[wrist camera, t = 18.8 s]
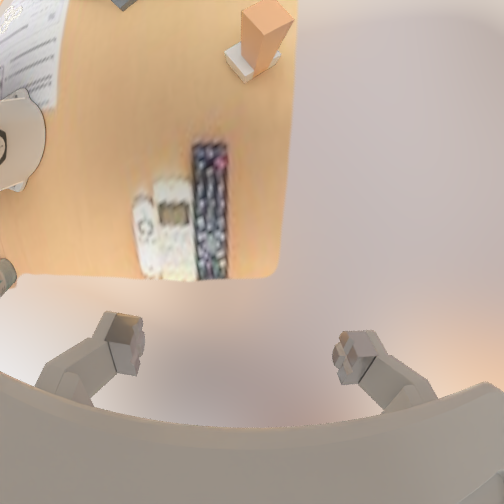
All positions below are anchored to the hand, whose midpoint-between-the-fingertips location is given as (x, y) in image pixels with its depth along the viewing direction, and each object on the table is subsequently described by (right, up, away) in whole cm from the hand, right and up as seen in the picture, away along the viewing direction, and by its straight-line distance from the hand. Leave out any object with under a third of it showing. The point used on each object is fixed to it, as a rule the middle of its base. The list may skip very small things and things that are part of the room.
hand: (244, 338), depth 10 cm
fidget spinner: (-46, +49, +7) cm, 68 cm away
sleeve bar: (+2, +23, +12) cm, 25 cm away
